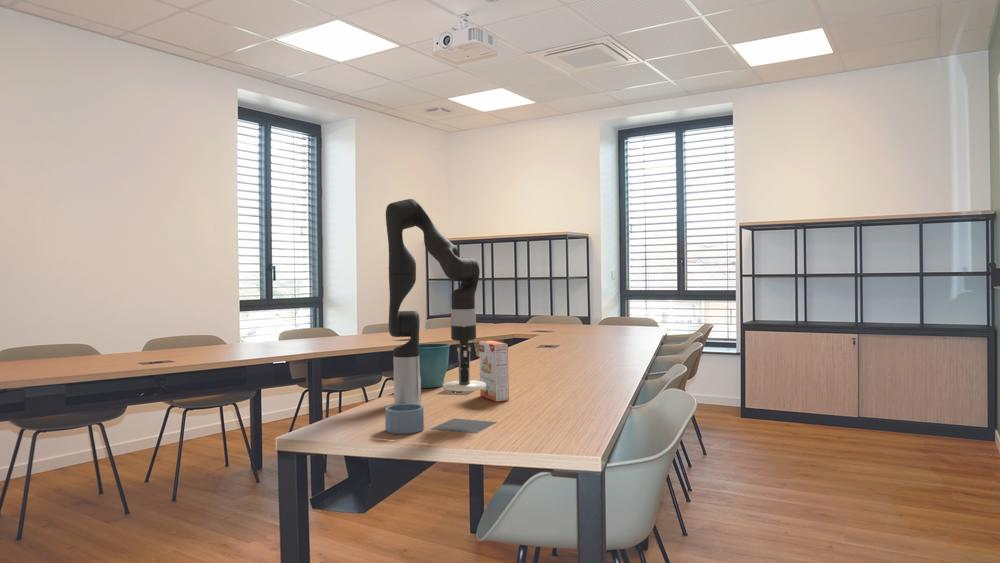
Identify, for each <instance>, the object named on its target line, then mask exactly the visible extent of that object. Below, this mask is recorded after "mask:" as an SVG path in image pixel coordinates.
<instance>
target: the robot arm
mask: <svg viewBox="0 0 1000 563" xmlns="http://www.w3.org/2000/svg"><path fill="white" fill-rule="evenodd" d="M385 224H386V232H387V234H386V235H387V242H388V286H389V288H388V290H389V308H388V332H389V334H390V336H391V337H393V338H409V340H408V341H406V342H405V343H404V344H401V345H399V346H396V347H395V348H393V352H392V353H393V355H392V356H393V358H392V359H393V405H397V404H419V405H421V403H422V388H421V377H420V364H419V344H420V328H421V327H420V320H421V319H420V315H419V314H420V313H419V312H418V311H416V310H400V307H401V305H402V303H403V302H404V299H405V298H406V297H407V295H409V293H410V292H411V290H413V287H414V286H415V284H416V281H417V263H416V260H415V258H414V257H413V255H412V253H411V252H410V251H409V249H408V248H407V247H406V246H405V243H404V236H403V231H404V230H407V229H410V228H415V227H417V228H419V230H421V231H422V233H423V243H424V247H425V249H426V250H427V251H428V253H429V254H430V255H431V257H433V258H434V259H435V260H436V262H438V263H439V265H440V267H441V268H442V271H443V273H444V275H445V277H447V278H448V279H450V280H451V281H453V282H460V285H459V287H458V288H456V289H454V290H453V291H452V292H451V296H450V297H451V298H450V300H451V313H450V339H451V341H457V342H459V345H457V346H456V351H457V360H458V364H459V365H458V367H459V366H460V369H461V382H468V370H469V371H470V367H471V366H470V361H471V352H472V350H471V349H472V347H471V345H469V341H474V340H476V338H477V316H476V298H475V297H476V296H475V295H476V291H477V288H478V282H479V279H480V270H481V269H480V265H479V263H478V261H477V260H476V259H475V258H473V257H460V256H459V257H458V255H459V250H458V248H457V246H455V244H453V243H452V241H451V240H449V239H448V237H446V236H445V235H444V234H443V233H442V232H441V231H440V230H439V228H438V227H437V226H436V224H435V223H434V220H432V218H431V217H430V215H429V214H428V213H427V211H426V210H425V209H424V208H423V206H422V204H420V203H419V202H418V201H417V200H415V198H414V199H413V198H408V199H402V200H398V201H395V202H391V203H389V204H388V205H387V206H386V209H385Z"/></svg>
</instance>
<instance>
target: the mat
mask: <svg viewBox="0 0 1000 563" xmlns="http://www.w3.org/2000/svg"><path fill="white" fill-rule="evenodd" d="M497 423H498V421H488V420H475V419H464V418H463V419H462V418H452V419H449V420H448V421H445V422H443V423H440V424H439V425H436V426H434V427H432V428H430V430H433V431H443V432H444V431H445V432H454V433H455V432H457V433H466V434H468V433H469V434H478V433H480V432H482V431H484V430H486V429H487V428H489V427H492V426H494V424H497Z"/></svg>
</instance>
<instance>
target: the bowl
mask: <svg viewBox="0 0 1000 563" xmlns="http://www.w3.org/2000/svg"><path fill="white" fill-rule="evenodd" d="M384 410H385V411H384V412H385V416H384V420H385V431H386V432H387V433H388V434H392V435H412V434H417V433H420V432H422V431H423V430H424V429H425V426H424V425H425V424H424V421H425V420H424V419H425V418H424V416H425V414H424V413H425V412H424V405H422V404H397V405H394V404H393V405H388V406H385V409H384Z"/></svg>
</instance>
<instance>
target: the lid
mask: <svg viewBox="0 0 1000 563" xmlns="http://www.w3.org/2000/svg"><path fill="white" fill-rule="evenodd" d="M470 375H471V374H470V369H469V370H468V382H461V369H460V366H459V365H458V380H453V381H452V380H451V381H447V382H444V384H443V386H442V389H443V390H444V391H448V392H475V391H480V390H481V389H484V388H486V383H485V382H482V381H480V380H474V379H473V380H472V379H471V378H470V377H471V376H470ZM470 379H471V380H470Z"/></svg>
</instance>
